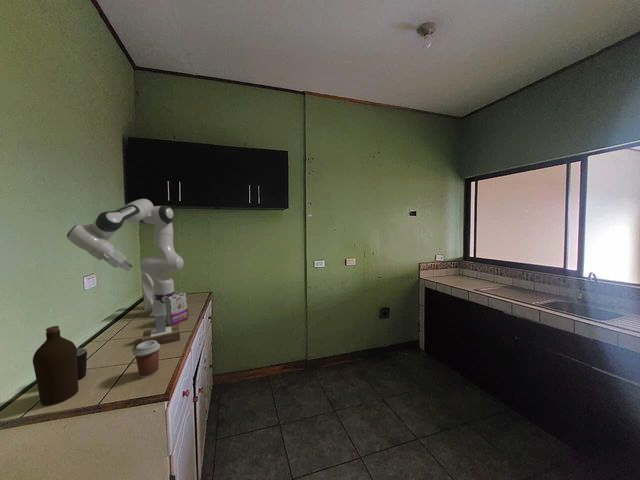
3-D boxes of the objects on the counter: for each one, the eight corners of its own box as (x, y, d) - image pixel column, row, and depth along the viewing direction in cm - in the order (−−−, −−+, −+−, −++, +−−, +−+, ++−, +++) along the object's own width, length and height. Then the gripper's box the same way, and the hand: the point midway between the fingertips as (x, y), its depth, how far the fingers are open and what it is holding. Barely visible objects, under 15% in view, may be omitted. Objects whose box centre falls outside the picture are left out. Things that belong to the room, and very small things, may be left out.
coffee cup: (129, 380, 98) (126, 350, 97) (146, 366, 107) (144, 338, 106) (151, 380, 97) (149, 349, 96) (167, 366, 106) (165, 338, 105)
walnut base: (144, 338, 134) (143, 330, 134) (179, 330, 142) (178, 323, 142) (142, 349, 122) (141, 340, 122) (180, 340, 131) (179, 332, 130)
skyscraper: (141, 310, 179) (138, 271, 177) (144, 307, 186) (141, 269, 184) (155, 308, 182) (152, 270, 180) (158, 305, 189) (155, 268, 187)
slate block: (156, 330, 133) (155, 314, 132) (165, 329, 135) (164, 312, 134) (156, 333, 129) (155, 316, 129) (165, 331, 131) (164, 314, 131)
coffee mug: (95, 373, 103) (92, 349, 102) (68, 386, 95) (66, 361, 94) (75, 369, 107) (72, 346, 106) (48, 382, 98) (45, 357, 98)
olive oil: (60, 406, 84) (52, 333, 83) (28, 408, 84) (18, 335, 82) (89, 386, 95) (82, 320, 93) (60, 387, 95) (52, 322, 93)
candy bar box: (183, 317, 162) (181, 292, 161) (188, 318, 160) (186, 293, 159) (166, 324, 152) (164, 297, 151) (171, 325, 150) (169, 298, 149)
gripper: (105, 248, 118) (133, 266, 124) (113, 245, 135) (137, 261, 141) (93, 258, 116) (122, 276, 122) (103, 254, 133) (128, 270, 139)
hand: (130, 268), depth 131 cm, fingers open, 8 cm apart
